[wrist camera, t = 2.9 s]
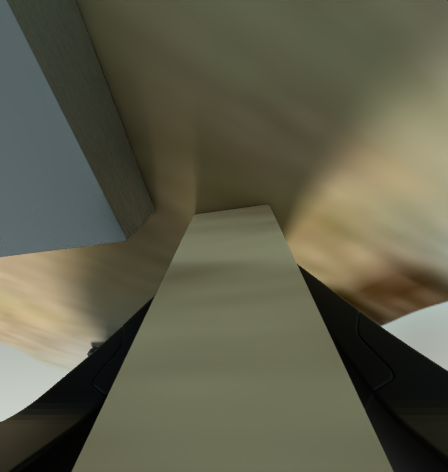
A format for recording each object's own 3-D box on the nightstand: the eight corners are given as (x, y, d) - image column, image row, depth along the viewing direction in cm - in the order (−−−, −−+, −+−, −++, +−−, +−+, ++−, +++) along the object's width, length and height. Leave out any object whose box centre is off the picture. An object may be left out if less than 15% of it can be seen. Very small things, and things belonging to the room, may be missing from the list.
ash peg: (272, 265, 11) (354, 560, 4) (208, 271, 12) (160, 543, 4) (269, 204, 9) (436, 563, 2) (193, 214, 10) (46, 527, 2)
